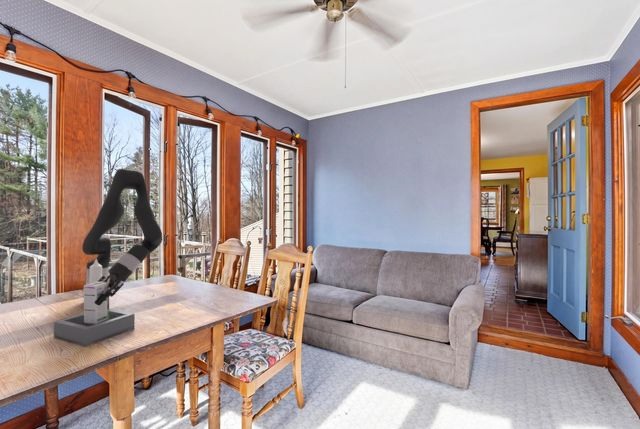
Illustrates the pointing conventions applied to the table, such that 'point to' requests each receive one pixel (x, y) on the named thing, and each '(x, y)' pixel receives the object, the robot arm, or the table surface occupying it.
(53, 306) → the table surface
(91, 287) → the syrup box
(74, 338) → the box
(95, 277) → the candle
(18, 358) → the table surface
